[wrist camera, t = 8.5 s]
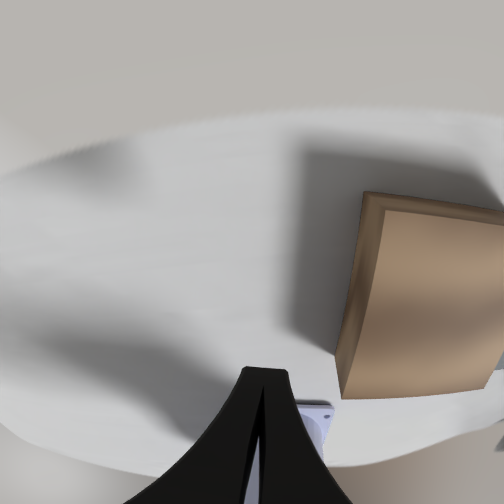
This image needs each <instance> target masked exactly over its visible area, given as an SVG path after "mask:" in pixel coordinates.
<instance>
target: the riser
mask: <svg viewBox="0 0 504 504" xmlns="http://www.w3.org/2000/svg"><path fill="white" fill-rule="evenodd" d="M503 351H504V212H501V211H496V210H490V209H485V208H479V207H474V206H468V205H462V204H456V203H449V202H443V201H436V200H430V199H423V198H415V197H408V196H400V195H392V194H384V193H376V192H367V191H364V194H363V202H362V210H361V218H360V225H359V232H358V239H357V245H356V251H355V258H354V264H353V269H352V275H351V281H350V286H349V291H348V297H347V302H346V307H345V312H344V317H343V321H342V326H341V331H340V335H339V340H338V344H337V348H336V352H335V362H336V368H337V374H338V381H339V387H340V393H341V399H385V398H404V397H418V396H429V395H439V394H448V393H457V392H464V391H471V390H478V389H484V387H485V385H486V384H487V382H488V380H489V378H490V376H491V375H492V373H493V371H494V369H495V367H496V365H497V363H498V361H499V359H500V357H501V355H502V353H503Z"/></svg>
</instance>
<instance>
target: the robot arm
mask: <svg viewBox="0 0 504 504" xmlns="http://www.w3.org/2000/svg"><path fill="white" fill-rule="evenodd" d="M334 413H335V410H334V407H333V406H330V405H298V404H296V402H295V399H294V396H293V393H292V389H291V385H290V381H289V375H288V372H287V371H286V370H285V369H273V368H260V367H249V366H246V367H244V368H242V371H241V374H240V376H239V378H238V380H237V383H236V385H235V386H234V388H233V390H232V392H231V394H230V395H229V397H228V399H227V400H226V402H225V403H224V405H223V407H222V408H221V410H220V411H219V413H218V414H217V416H216V417H215V419H214V420H213V421H212V422H211V424H210V425H209V426H208V428H207V429H206V430H205V432H204V433H203V434H202V435H201V437H200V438H199V439H198V440H197V441H196V442H195V444H194V445H193V446H192V447H191V448H190V449H189V450H188V451H187V452H186V453H185V454H184V455H183V456H182V457H181V458H180V459H179V460H178V461H177V462H176V463H175V464H174V465H173V466H172V467H171V468H170V469H169V470H168V471H166V472H165V473H164V474H163V475H162V476H161V477H160V478H158V479H157V480H156V481H155V482H153V483H152V484H151V485H149V486H148V487H146V488H145V489H144V490H142V491H141V492H140V493H138V494H137V495H136V496H134V497H133V498H131V499H130V500H128V501H126V502H125V503H123V504H353V503H352V502H351V501H350V500H349V498H348V497H347V496H346V495H345V493H344V492H343V491H342V490H341V488H340V487H339V486H338V484H337V483H336V481H335V480H334V478H333V477H332V475H331V474H330V472H329V470H328V469H327V467H326V466H325V464H324V459H323V444H324V441H325V438H326V436H327V433H328V430H329V427H330V424H331V421H332V418H333V416H334Z"/></svg>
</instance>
